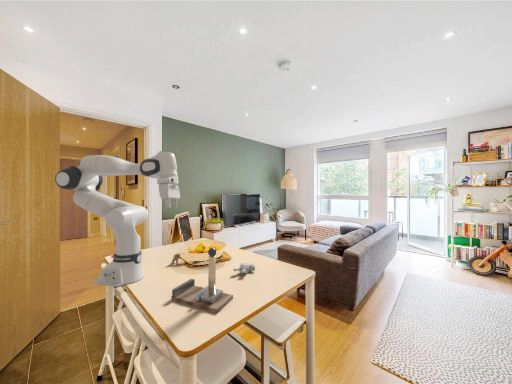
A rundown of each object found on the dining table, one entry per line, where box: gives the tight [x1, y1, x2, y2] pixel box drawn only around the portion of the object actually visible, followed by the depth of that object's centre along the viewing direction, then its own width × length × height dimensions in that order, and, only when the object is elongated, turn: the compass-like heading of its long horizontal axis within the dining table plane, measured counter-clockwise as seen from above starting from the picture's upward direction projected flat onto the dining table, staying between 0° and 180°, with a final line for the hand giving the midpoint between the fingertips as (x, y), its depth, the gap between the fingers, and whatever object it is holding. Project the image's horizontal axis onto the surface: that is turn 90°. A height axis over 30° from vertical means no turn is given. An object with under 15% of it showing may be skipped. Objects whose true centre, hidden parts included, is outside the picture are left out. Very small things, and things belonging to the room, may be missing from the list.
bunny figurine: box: [233, 262, 256, 275], centre depth 119 cm, size 10×5×15 cm
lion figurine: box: [170, 248, 191, 266], centre depth 132 cm, size 15×5×9 cm, turn 120°
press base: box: [170, 278, 234, 314], centre depth 89 cm, size 24×12×4 cm, turn 67°
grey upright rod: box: [196, 247, 224, 304], centre depth 87 cm, size 7×10×21 cm
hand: (172, 207), depth 106 cm, fingers open, 8 cm apart
